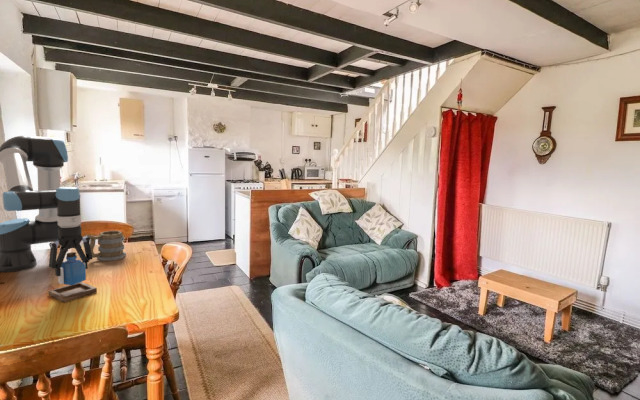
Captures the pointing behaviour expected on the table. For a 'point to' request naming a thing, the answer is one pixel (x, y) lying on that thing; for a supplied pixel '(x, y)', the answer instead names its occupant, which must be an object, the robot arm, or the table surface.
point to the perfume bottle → (73, 270)
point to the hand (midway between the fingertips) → (72, 280)
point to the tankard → (108, 245)
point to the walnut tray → (72, 292)
